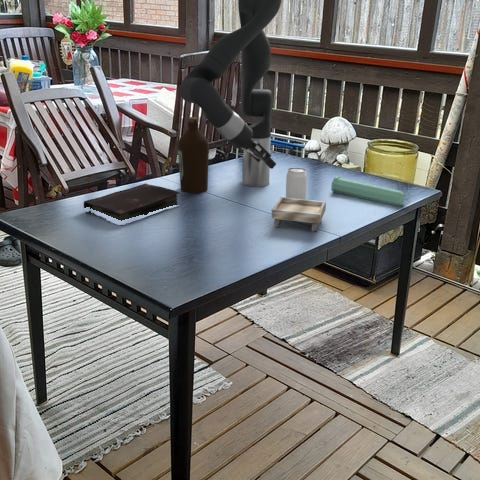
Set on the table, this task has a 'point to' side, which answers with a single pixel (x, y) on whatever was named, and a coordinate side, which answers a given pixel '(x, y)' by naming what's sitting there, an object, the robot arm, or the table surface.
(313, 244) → the table surface
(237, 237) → the table surface
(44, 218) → the table surface
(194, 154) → the olive oil
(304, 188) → the can
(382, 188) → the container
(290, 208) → the shallow wooden tray
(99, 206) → the diary
